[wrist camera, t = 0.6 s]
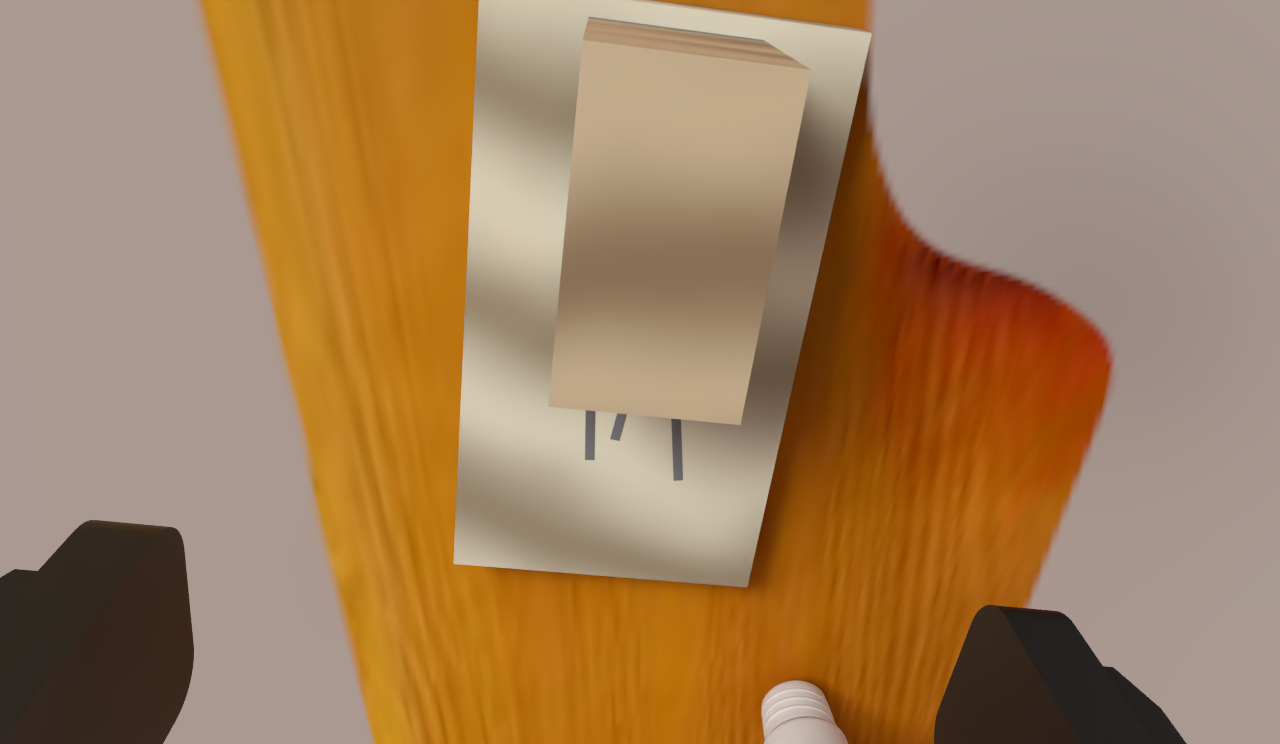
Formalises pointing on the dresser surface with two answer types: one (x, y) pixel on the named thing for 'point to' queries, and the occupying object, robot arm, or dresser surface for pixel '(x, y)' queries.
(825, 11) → the dresser surface
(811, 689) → the lightbulb
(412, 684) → the dresser surface
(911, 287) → the dresser surface
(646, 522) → the board
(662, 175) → the block
